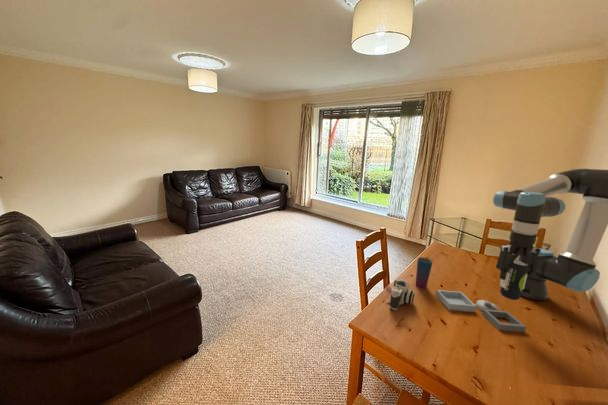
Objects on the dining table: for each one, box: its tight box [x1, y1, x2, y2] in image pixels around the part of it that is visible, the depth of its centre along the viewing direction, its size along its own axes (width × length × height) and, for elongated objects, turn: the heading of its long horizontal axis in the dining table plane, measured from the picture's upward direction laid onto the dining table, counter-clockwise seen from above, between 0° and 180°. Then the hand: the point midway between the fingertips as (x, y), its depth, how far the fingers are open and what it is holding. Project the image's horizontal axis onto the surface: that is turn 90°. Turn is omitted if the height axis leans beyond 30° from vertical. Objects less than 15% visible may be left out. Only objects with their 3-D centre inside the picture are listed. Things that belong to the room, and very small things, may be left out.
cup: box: [415, 256, 433, 290], centre depth 126 cm, size 7×7×15 cm
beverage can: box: [499, 258, 528, 301], centre depth 98 cm, size 6×6×15 cm
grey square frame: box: [475, 299, 527, 333], centre depth 106 cm, size 10×18×3 cm, turn 178°
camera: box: [389, 278, 415, 311], centre depth 111 cm, size 16×9×10 cm, turn 146°
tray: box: [435, 289, 477, 313], centre depth 114 cm, size 12×12×3 cm
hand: (511, 287), depth 99 cm, fingers closed on beverage can, 6 cm apart
